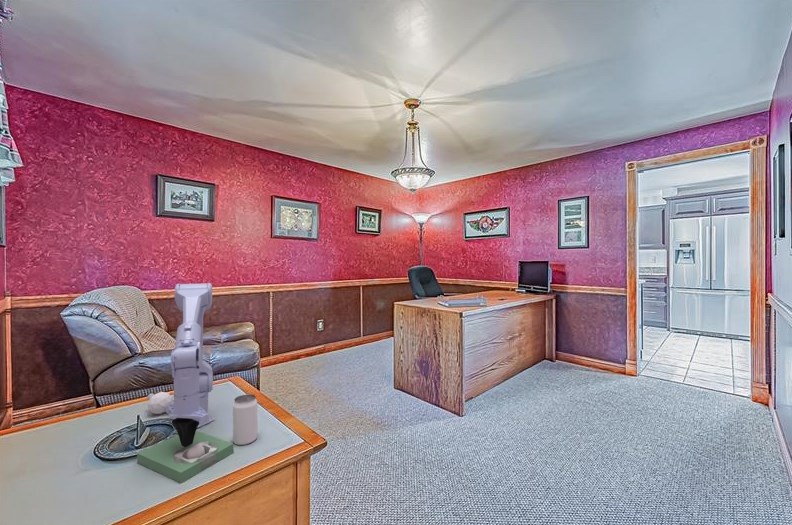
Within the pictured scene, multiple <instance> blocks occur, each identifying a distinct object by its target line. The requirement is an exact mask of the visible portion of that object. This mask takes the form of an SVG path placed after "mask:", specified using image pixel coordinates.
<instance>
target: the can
mask: <svg viewBox="0 0 792 525" xmlns="http://www.w3.org/2000/svg"><path fill="white" fill-rule="evenodd" d="M256 398H257V397H256V395H255V394H252V393H250V394H242V395H239V396H236V397H235V398H234V399H233V404H232V443H233V444H234V445H237V446H245V445H246V446H247V445H250V444H252V443H254V442H255V441H256V440H257V438H258V435H259V434H258V428H259V427H258V400H257V399H256Z"/></svg>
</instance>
